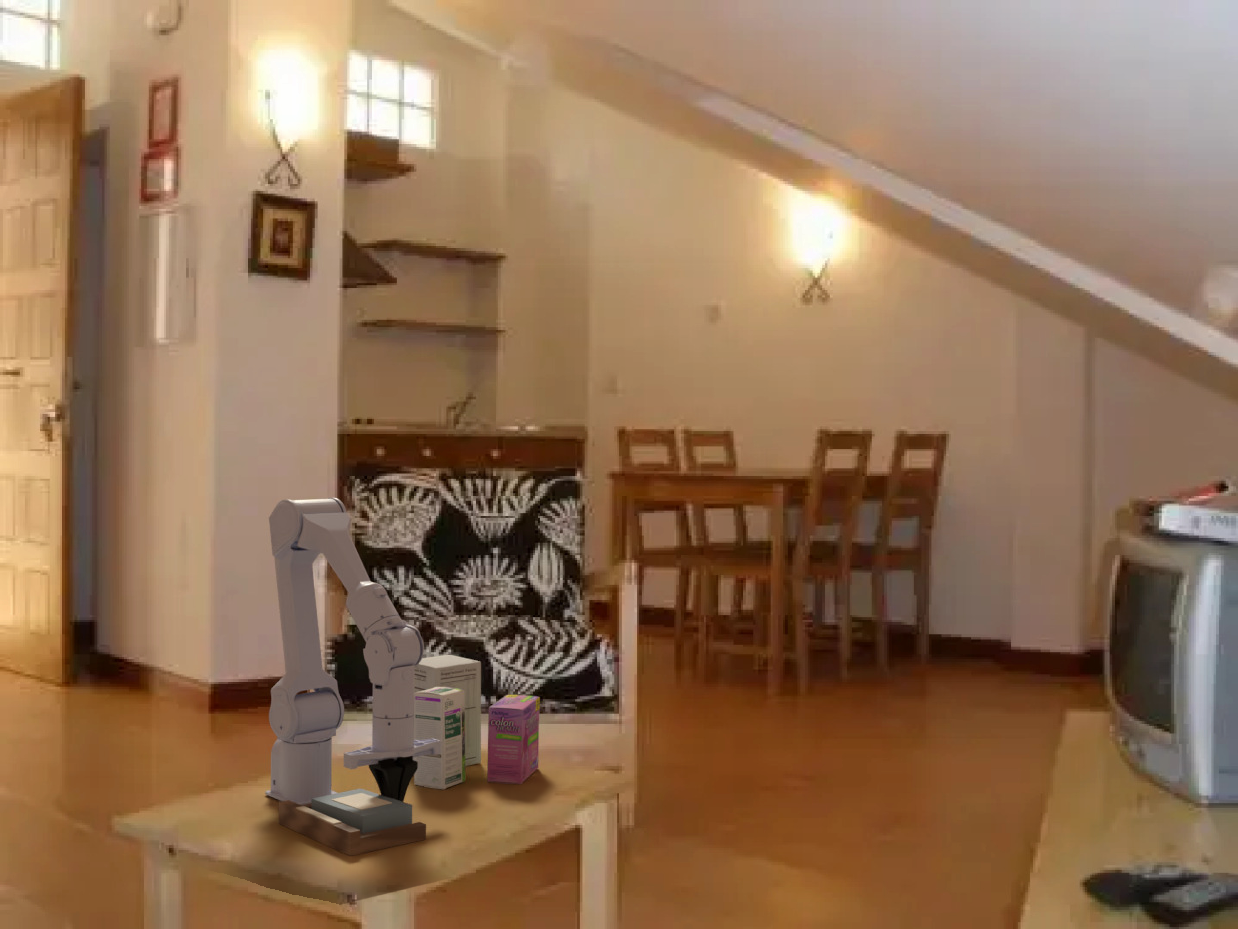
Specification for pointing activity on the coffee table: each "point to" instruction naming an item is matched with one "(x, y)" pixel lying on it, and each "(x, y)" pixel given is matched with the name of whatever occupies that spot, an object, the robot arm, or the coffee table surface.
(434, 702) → the syrup box
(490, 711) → the box
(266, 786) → the coffee table surface
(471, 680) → the supplement box
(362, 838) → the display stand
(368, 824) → the carton
